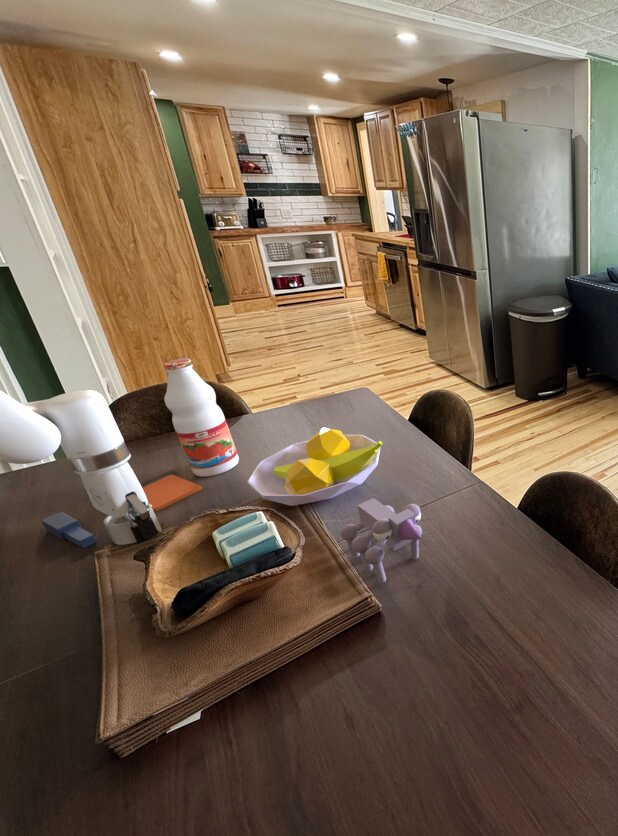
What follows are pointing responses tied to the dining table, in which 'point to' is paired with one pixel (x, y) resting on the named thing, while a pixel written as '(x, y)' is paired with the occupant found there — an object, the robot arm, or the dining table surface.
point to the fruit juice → (198, 421)
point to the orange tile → (168, 491)
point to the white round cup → (126, 527)
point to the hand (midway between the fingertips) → (137, 533)
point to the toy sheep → (382, 533)
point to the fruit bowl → (316, 468)
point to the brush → (68, 529)
